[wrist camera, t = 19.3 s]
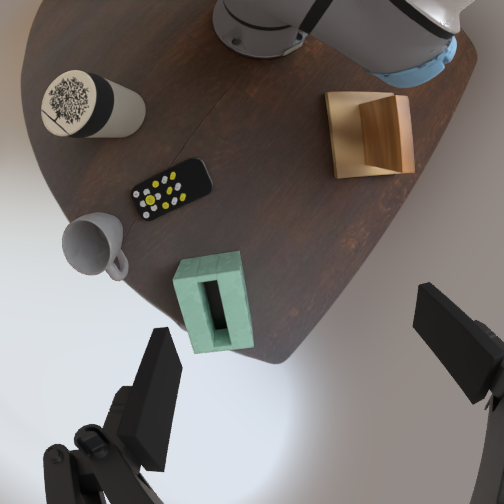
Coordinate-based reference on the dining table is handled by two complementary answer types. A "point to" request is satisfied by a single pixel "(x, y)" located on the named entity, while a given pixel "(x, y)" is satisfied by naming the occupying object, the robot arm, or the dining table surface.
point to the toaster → (214, 302)
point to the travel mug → (91, 107)
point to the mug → (95, 245)
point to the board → (350, 133)
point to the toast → (388, 134)
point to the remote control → (172, 189)
